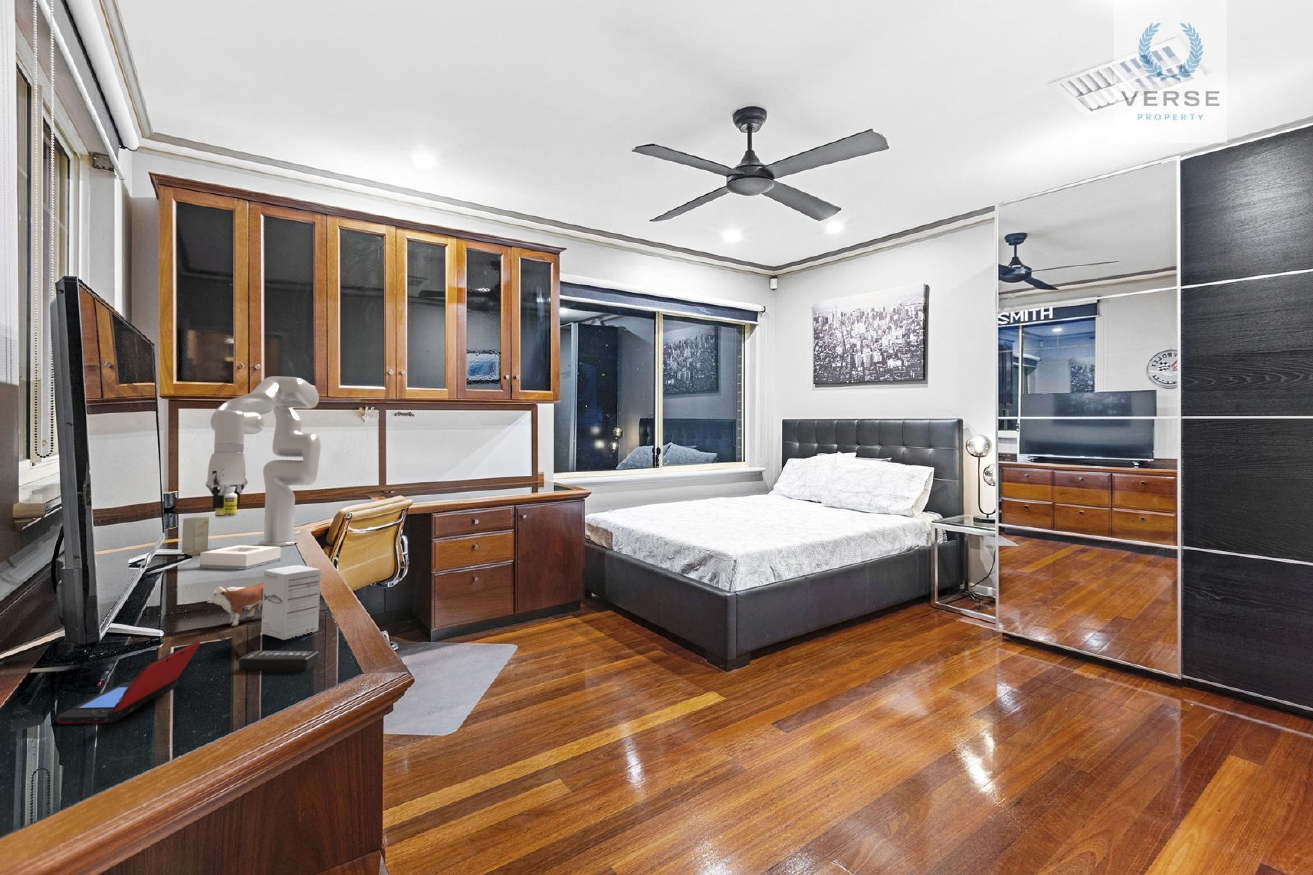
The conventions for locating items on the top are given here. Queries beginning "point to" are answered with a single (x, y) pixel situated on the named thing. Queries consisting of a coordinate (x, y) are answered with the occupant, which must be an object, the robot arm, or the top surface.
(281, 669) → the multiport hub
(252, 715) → the top surface
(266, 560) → the sleeve holder
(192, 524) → the skincare box
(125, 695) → the handheld game console
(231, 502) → the supplement bottle
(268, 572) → the supplement box
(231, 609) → the bull figurine
